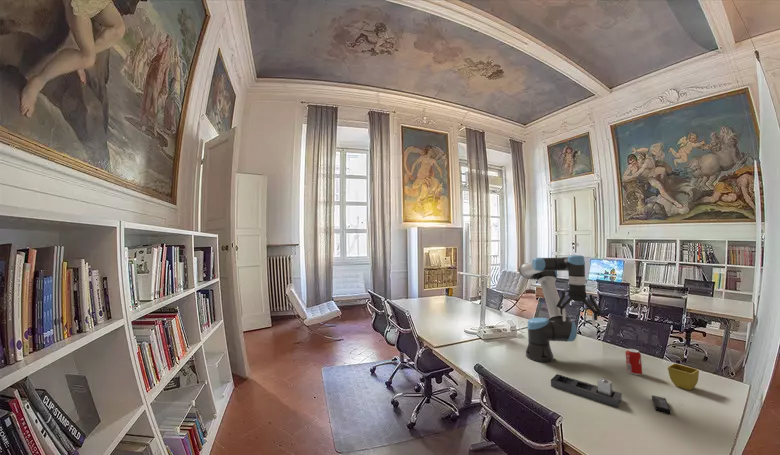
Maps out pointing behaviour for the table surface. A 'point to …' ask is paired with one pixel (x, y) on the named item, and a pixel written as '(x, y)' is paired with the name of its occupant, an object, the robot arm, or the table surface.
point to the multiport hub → (661, 405)
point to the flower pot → (683, 376)
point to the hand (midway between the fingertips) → (578, 323)
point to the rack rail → (585, 390)
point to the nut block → (605, 387)
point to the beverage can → (633, 362)
